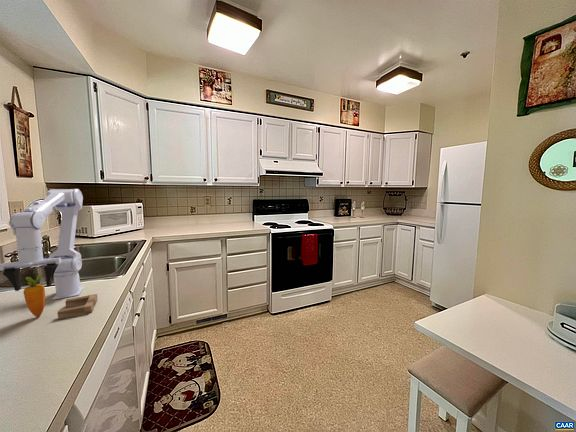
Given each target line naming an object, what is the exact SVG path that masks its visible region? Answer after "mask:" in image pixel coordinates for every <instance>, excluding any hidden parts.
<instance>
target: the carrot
mask: <svg viewBox="0 0 576 432" xmlns="http://www.w3.org/2000/svg"><path fill="white" fill-rule="evenodd" d="M41 276H42V275H41V274H37V276H36V277H35V280H34V279H33V278H32V277H31V276H25V280H26V282H27V285H29V286H26V287H25V288H24V289H23V297H24V301H25V303H26V307H27V308H28V310H29V312H30V313H31V314H32V315H33V316H34V317H36V318H40V317H41V315H42V314H43V312H44V309H45V304H46V291H45V285H44V284H39V283H38V282H39V281H41V278H40V277H41Z"/></svg>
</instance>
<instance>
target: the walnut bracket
mask: <svg viewBox="0 0 576 432" xmlns="http://www.w3.org/2000/svg"><path fill="white" fill-rule="evenodd" d="M98 300H99V299H98V294H97V293H95V294H88V295H84V296H78V297H72V298H71V297H70V298H67V299H66V300H65V303H64V304H65V307H66V308H63V309H59V310H58V311H57V320H63V319H64V320H65V319H67V318H72V317H77V316H78V317H79V316H82V315H87V314H93V311H94V309H95V308H96V307H95V306H96V305H97V302H98Z"/></svg>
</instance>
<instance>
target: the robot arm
mask: <svg viewBox="0 0 576 432" xmlns="http://www.w3.org/2000/svg"><path fill="white" fill-rule="evenodd" d="M83 200H84V196H83V193H82V191H81V190H80V189H79V188H70V189H68V188H65V189H64V188H62V189H61V188H60V189H59V188H58V189H54V188H52V189H51V188H50V189H49V190H48V191H47V192H46V197H45V198H44V199H43V200H42V201H40V200H36V201H33V203H32V204H30V205H29V206H28V207H26V208H25V209H24V210H23V211H21V212H15V213H13V214H11V216H10V218H9V221H8V224H9V227H10V229H11V230H12V234H13V236H15V241H16V248H17V260H18V261H13V262H5V263H4V262H3V263H0V271H1V272H2V271H3V272H2V275H3V276H4V277H5V278H7V280H8V281H9V282H10V284H11V285H12V287H13V288H14V289H13V290H14V291H15V292H19V291H20V290H21V289H22V283H21V269H22V268H32V267H41V266H44V267H43V270H44V273H45V279H46V287H51V286H52V283H53V281H54V287H55V295H54V297H52V300H58V299H59V300H60V299H64V298H69V297H70V298H71V297H76V296H79V295H80V293H81V292H82V290H83V288H84V286H83V285H81V280H80V273H79V271H80V270H81V269H82V265H83V260H82V254H81V252H78V251H77V250H75V249H74V248H75V239H76V231H77V222H78V212H79V211H81V210H82V209H83V202H84V201H83ZM53 209H54V210H56V211H57V212H61V220H60V227H59V235H58V241H57V249H56V250H55V251H54V252H52V253H50V254H49V256H48V257H47V258H44V253H43V252H44V251H43V242H42V234H41V232H42V231H41V229H42V228H43V227H44V226H45V221H46V220H47V219H46V218H48V217H49V216H50V215H51V214H52V213H53V211H54V210H53Z"/></svg>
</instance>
